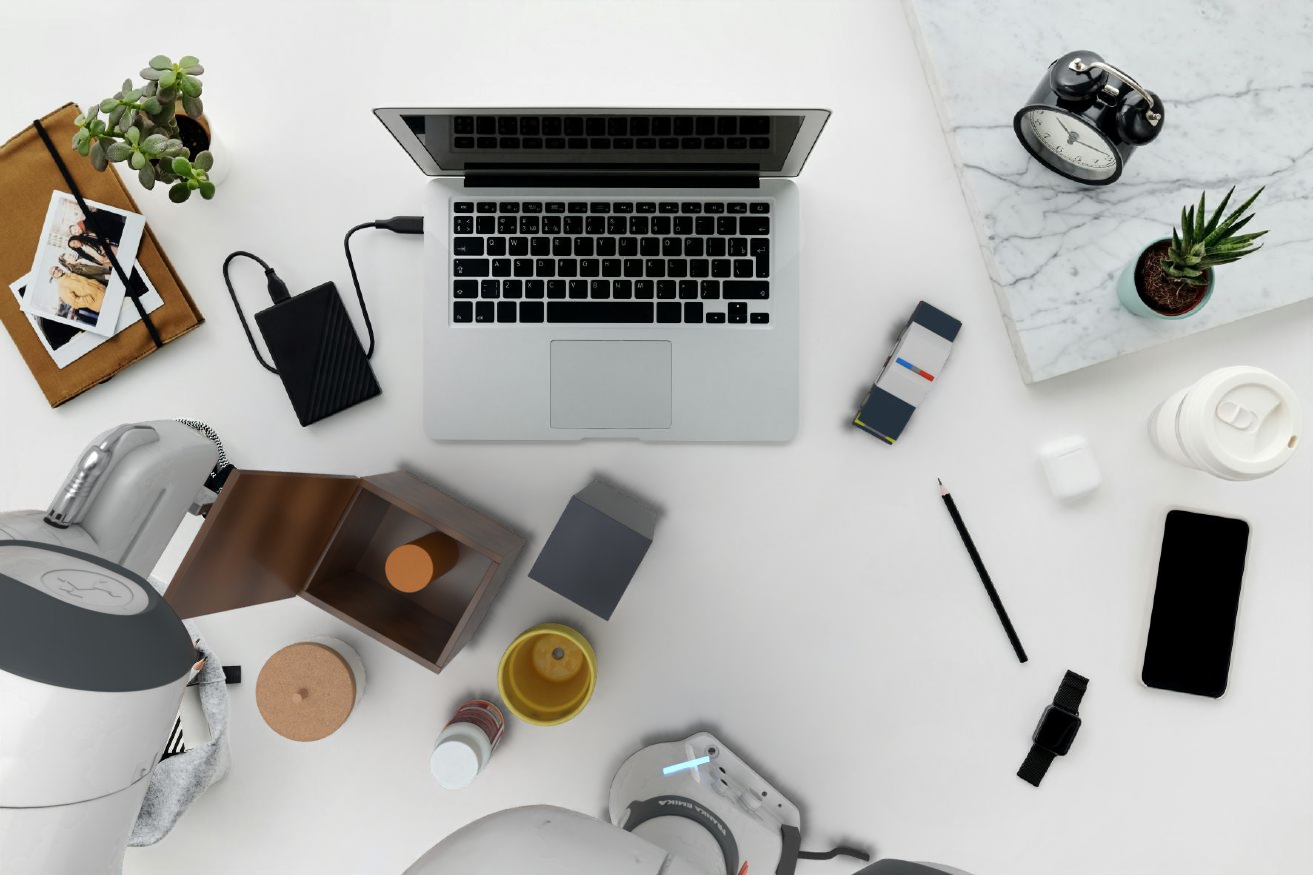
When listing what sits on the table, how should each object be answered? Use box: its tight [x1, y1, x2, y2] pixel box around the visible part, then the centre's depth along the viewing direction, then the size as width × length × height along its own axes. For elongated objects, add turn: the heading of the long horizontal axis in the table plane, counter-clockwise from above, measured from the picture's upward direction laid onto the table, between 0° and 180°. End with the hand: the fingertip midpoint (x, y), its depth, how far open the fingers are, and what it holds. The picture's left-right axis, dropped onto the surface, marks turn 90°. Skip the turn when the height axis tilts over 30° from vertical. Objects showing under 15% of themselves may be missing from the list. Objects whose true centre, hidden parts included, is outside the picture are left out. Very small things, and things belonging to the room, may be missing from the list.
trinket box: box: [255, 636, 367, 743], centre depth 87 cm, size 11×11×9 cm
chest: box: [296, 470, 528, 675], centre depth 85 cm, size 17×14×13 cm
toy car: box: [851, 300, 963, 446], centre depth 88 cm, size 5×16×5 cm, turn 151°
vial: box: [385, 532, 459, 592], centre depth 86 cm, size 5×5×10 cm
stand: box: [527, 478, 657, 622], centre depth 79 cm, size 8×8×24 cm
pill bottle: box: [428, 699, 505, 791], centre depth 86 cm, size 6×6×11 cm
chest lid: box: [161, 468, 361, 621], centre depth 69 cm, size 18×14×1 cm
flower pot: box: [496, 622, 598, 727], centre depth 87 cm, size 10×10×10 cm
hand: (169, 556), depth 54 cm, fingers open, 8 cm apart
